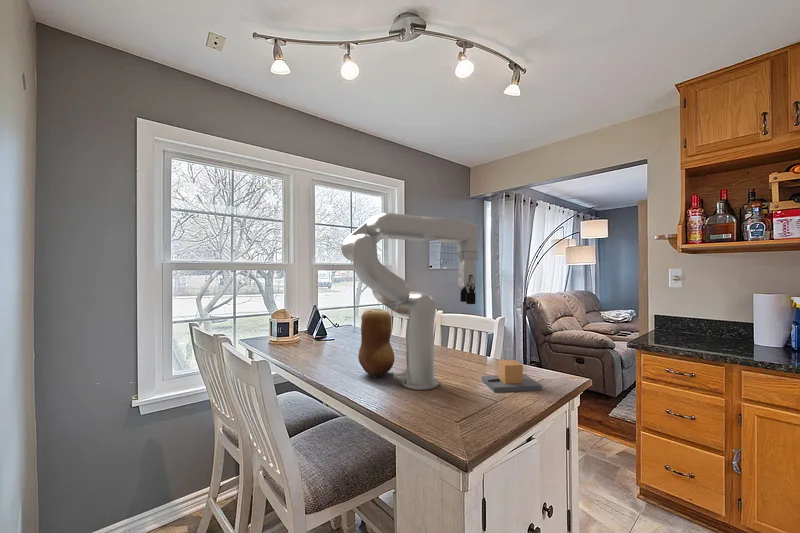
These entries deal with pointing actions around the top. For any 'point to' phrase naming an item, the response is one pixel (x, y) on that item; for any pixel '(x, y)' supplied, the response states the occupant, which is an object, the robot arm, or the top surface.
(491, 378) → the plate
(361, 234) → the robot arm
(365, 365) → the butternut squash
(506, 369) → the tan wooden cube
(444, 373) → the top surface
